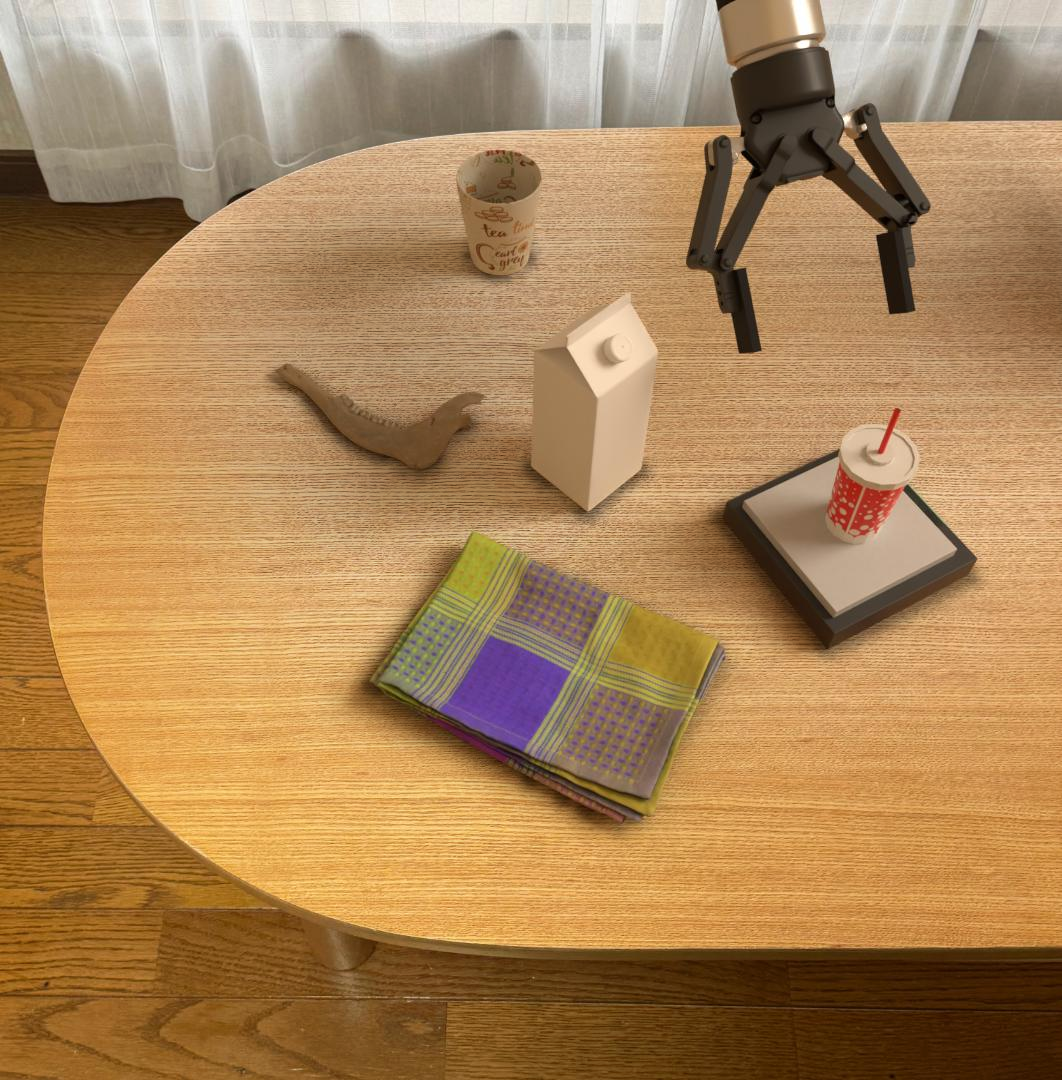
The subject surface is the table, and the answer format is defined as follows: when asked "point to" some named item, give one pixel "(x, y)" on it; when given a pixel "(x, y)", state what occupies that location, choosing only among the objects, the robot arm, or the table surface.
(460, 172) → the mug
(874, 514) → the beverage cup
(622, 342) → the milk carton
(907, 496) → the kitchen scale
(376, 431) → the jawbone
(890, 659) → the table surface
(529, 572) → the dish towel
